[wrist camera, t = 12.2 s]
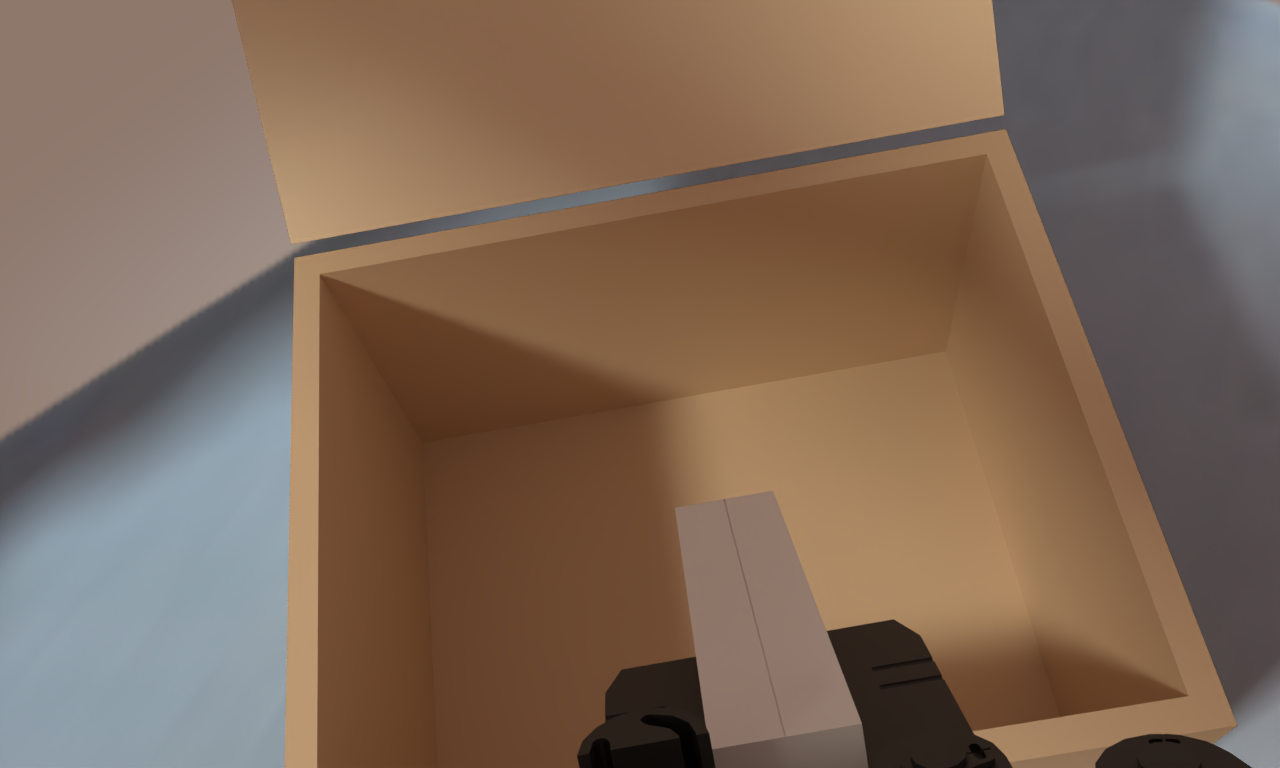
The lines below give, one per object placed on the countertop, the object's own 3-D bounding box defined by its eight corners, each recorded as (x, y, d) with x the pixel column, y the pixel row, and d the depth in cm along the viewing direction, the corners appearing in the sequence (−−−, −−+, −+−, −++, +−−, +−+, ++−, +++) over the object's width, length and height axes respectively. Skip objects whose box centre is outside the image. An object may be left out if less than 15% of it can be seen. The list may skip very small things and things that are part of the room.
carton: (1114, 819, 37) (1237, 725, 27) (424, 930, 38) (282, 880, 27) (958, 336, 46) (1004, 126, 36) (406, 433, 47) (294, 255, 36)
